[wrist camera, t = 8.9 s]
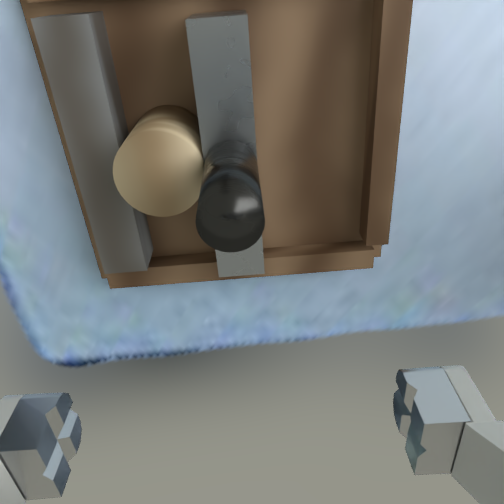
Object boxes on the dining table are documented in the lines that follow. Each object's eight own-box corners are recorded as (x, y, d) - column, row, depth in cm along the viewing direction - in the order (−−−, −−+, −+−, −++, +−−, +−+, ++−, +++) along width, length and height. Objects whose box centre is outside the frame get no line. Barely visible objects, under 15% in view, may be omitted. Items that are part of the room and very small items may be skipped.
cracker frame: (404, -61, 25) (431, -69, 22) (376, 250, 36) (392, 277, 32) (18, -30, 25) (-15, -32, 22) (105, 271, 36) (91, 301, 33)
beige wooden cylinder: (204, 101, 28) (197, 127, 23) (213, 175, 31) (209, 213, 26) (126, 107, 29) (102, 135, 23) (141, 181, 31) (123, 220, 26)
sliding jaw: (245, 9, 26) (253, 25, 15) (260, 236, 33) (272, 348, 23) (192, 13, 26) (166, 33, 15) (220, 239, 33) (215, 353, 23)
